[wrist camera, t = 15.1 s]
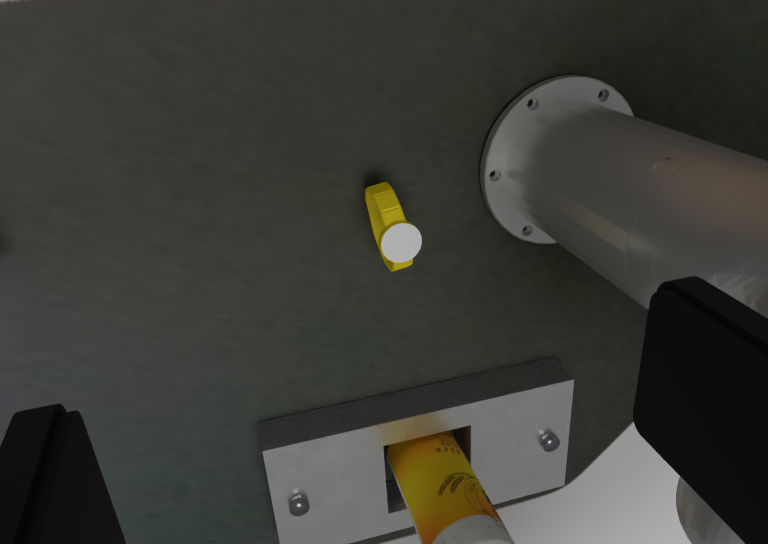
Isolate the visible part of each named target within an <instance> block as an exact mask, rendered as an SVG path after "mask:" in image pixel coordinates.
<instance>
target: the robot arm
mask: <svg viewBox="0 0 768 544" xmlns="http://www.w3.org/2000/svg"><path fill="white" fill-rule="evenodd" d="M529 100H530V103H529V104H528V101H529ZM527 104H528V105H527ZM492 171H493V173H492V174H491V175H490V173H491V172H492ZM480 182H481V190H482V194H483V197H484V200H485V203H486V206H487V208H488V209H489V211H490V213H491V214H492V216H493V218H494V219H495V220H496V221H497V222H498V223H499V224H500V225H501V226H502V227H503V228H504V229H506V230H507V231H508V232H510V233H511V234H512V235H514V236H516V237H518V238H520V239H522V240H524V241H528V242H533V243H537V244H553V243H559V244H560V245H562V246H563V247H564V248H566V249H567V250H568V251H570V252H571V253H572V254H574V255H575V256H576V257H578V258H579V259H580V260H582V261H583V262H584V263H586V264H587V265H588V266H590V267H591V268H592V269H594V270H595V271H596V272H598V273H599V274H600V275H602V276H603V277H604V278H606V279H607V280H608V281H610V282H611V283H612V284H614V285H615V286H616V287H618V288H619V289H620V290H622V291H623V292H624V293H626V294H627V295H628V296H630V297H631V298H632V299H634V300H635V301H636V302H638V303H639V304H640V305H642V306H643V307H644V308H646V309H648V317H647V324H646V330H645V337H644V344H643V350H642V357H641V364H640V370H639V377H638V384H637V390H636V397H635V404H634V410H633V420H634V424H635V427H636V429H637V430H638V432H639V434H640V435H641V436H642V437H643V438H644V439H645V440H646V441H647V442H648V443H649V444H650V445H651V446H652V447H653V448H654V450H655V451H656V452H657V453H658V454H659V455H660V456H661V457H662V458H663V459H664V460H665V461H666V462H667V463H668V464H669V465H670V466H671V467H672V468H673V469H674V470H675V471H676V472H677V473H678V474H679V475H680V478H679V481H678V487H677V493H676V506H677V512H678V516H679V520H680V523H681V525H682V527H683V529H684V531H685V533H686V535H687V537H688V539H689V540H690V542H691V543H692V544H768V161H766V160H763V159H760V158H757V157H754V156H751V155H748V154H744V153H741V152H738V151H735V150H732V149H729V148H726V147H723V146H720V145H717V144H714V143H711V142H708V141H705V140H702V139H699V138H696V137H693V136H690V135H687V134H684V133H681V132H678V131H675V130H672V129H669V128H666V127H663V126H660V125H657V124H654V123H651V122H648V121H645V120H642V119H640V118H637V117H634V115H633V112H632V110H631V107H630V106H629V104H628V103H627V102H626V100H625V99H624V97H623V96H622V95H621V94H620V93H619V92H618V91H616V90H615V89H614V88H613V87H612V86H610V85H608V84H606V83H604V82H602V81H600V80H597V79H593V78H590V77H586V76H578V75H566V76H557V77H554V78H550V79H547V80H544V81H541V82H539V83H538V84H536V85H534V86H532V87H530V88H529V89H527V90H525V91H524V92H523V93H522V94H520V95H519V96H518V97H517V98H515V99H514V100H513V101H512V102H511V103H510V104H509V105H508V107H507V108H506V109H505V110H504V111H503V112H502V113H501V115H500V116H499V118H498V119H497V121H496V123H495V124H494V126H493V127H492V129H491V131H490V134H489V136H488V138H487V141H486V143H485V146H484V150H483V154H482V159H481V167H480ZM0 544H126V542H125V539H124V536H123V533H122V530H121V527H120V524H119V522H118V519H117V516H116V513H115V510H114V507H113V504H112V502H111V499H110V496H109V493H108V490H107V487H106V484H105V482H104V479H103V476H102V473H101V470H100V467H99V464H98V461H97V459H96V456H95V453H94V450H93V447H92V444H91V441H90V439H89V436H88V433H87V430H86V427H85V424H84V421H83V419H82V416H81V414H80V413H79V411H71V412H66V409H65V408H64V407H63V405H61V404H54V405H49V406H44V407H39V408H34V409H29V410H24V411H19V412H17V413H15V414H14V416H13V417H12V419H11V422H10V424H9V427H8V429H7V432H6V434H5V437H4V439H3V442H2V444H1V447H0Z"/></svg>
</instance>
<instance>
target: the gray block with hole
mask: <svg viewBox="0 0 768 544" xmlns="http://www.w3.org/2000/svg"><path fill="white" fill-rule="evenodd" d="M573 386H574V379H573V378H572V377H571V376H570V374H569V373H568V372H567V371H566V370H565V369H564V368H563V367H562V366H561V365H560V364H559V363H558V362H557V360H556V359H555V358H554V357H551V358H546V359H542V360H537V361H533V362H528V363H524V364H519V365H515V366H510V367H506V368H501V369H496V370H492V371H487V372H483V373H478V374H474V375H469V376H465V377H460V378H456V379H451V380H447V381H442V382H438V383H433V384H429V385H424V386H419V387H415V388H410V389H406V390H401V391H397V392H392V393H388V394H383V395H379V396H374V397H370V398H365V399H361V400H356V401H352V402H347V403H343V404H338V405H333V406H329V407H324V408H320V409H315V410H311V411H306V412H302V413H297V414H293V415H288V416H284V417H279V418H275V419H270V420H266V421H261V422H258V425H259V431H260V438H261V445H262V452H263V457H264V462H265V467H266V473H267V478H268V483H269V488H270V493H271V499H272V504H273V509H274V514H275V520H276V525H277V530H278V535H279V541H280V544H349V543H353V542H356V541H360V540H364V539H367V538H371V537H375V536H379V535H382V534H386V533H390V532H393V531H397V530H401V529H405V528H408V527H412V526H414V524H413V522H412V519H411V517H410V514H409V512H408V509H407V507H406V505H405V502H404V500H403V497H402V495H401V492H400V490H399V487H398V485H397V482H396V480H393V481H389V482H386V476H385V464H384V451H383V446H386V445H390V444H394V443H398V442H402V441H406V440H411V439H415V438H419V437H423V436H427V435H432V434H436V433H440V432H444V431H448V430H452V429H456V441H457V443H458V444H459V446H460V448H461V450H462V451H463V453H464V455H465V457H466V459H467V460H468V462H469V464H470V466H471V467H472V469H473V471H474V473H475V474H476V476H477V478H478V480H479V482H480V483H481V485H482V487H483V489H484V490H485V492H486V494H487V496H488V497H489V499H490V501H491V503H492V505H493V504H497V503H501V502H505V501H508V500H512V499H516V498H519V497H523V496H527V495H530V494H534V493H538V492H542V491H545V490H549V489H553V488H556V487H560V486H564V482H565V471H566V461H567V450H568V439H569V429H570V418H571V408H572V397H573Z"/></svg>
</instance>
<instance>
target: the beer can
mask: <svg viewBox="0 0 768 544" xmlns="http://www.w3.org/2000/svg"><path fill="white" fill-rule="evenodd" d="M387 459H388V462H389V465H390V467H391V470H392V472H393V475H394V477H395V480H396V482H397V485H398V487H399V490H400V492H401V495H402V497H403V500H404V502H405V505H406V507H407V509H408V512H409V514H410V517H411V519H412V522H413V524H414V527H415V529H416V532H417V534H418V537H419V539H420V542H421V544H515V543H514V542H513V540H512V538H511V536H510V535H509V533H508V531H507V529H506V528H505V526H504V524H503V522H502V520H501V519H500V517H499V515H498V514H497V512H496V510H495V508H494V506H493V505H492V503H491V501H490V499H489V497H488V496H487V494H486V492H485V490H484V489H483V487H482V485H481V483H480V482H479V480H478V478H477V476H476V474H475V473H474V471H473V469H472V467H471V466H470V464H469V462H468V460H467V459H466V457H465V455H464V453H463V451H462V450H461V448H460V446H459V444H458V443H457V441H456V439H455V437H454V435H453V434H452V432H451V430H448V431H444V432H440V433H436V434H432V435H427V436H423V437H419V438H415V439H411V440H406V441H402V442H398V443H394V444H390V445H388V449H387Z"/></svg>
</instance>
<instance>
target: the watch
mask: <svg viewBox="0 0 768 544" xmlns="http://www.w3.org/2000/svg"><path fill="white" fill-rule="evenodd" d="M365 202H366V203H367V208H368V212H369V216H370V221H371V225H372V229H373V233H374V237H375V240H376V243H377V245H378V248H379V250H380V253H381V255H382V258H383V260H384V262H385V263H386V265H387V267H388V268H389V270H390V271H392V272H393V271H396V270H399V269H402V268H405V267H408V266H410V265H412V263H413V257H415V256H416V255H417V253H418V252H419V250H420V247H421V244H422V237H421V234H420V232H419V230H418V229H417V228H416V227H415V226H414V225H413V224H412V223H410V222H408V221H406V220H405V217H404V214H403V211H402V208H401V205H400V203H399V201H398V199H397V196H396V194H395V192H394V191H393V189H392V188H391V186H390V185H389V184H388V183H387V182H383V183H380V184H377V185H373V186H370V187H367V188H366V189H365Z"/></svg>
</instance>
